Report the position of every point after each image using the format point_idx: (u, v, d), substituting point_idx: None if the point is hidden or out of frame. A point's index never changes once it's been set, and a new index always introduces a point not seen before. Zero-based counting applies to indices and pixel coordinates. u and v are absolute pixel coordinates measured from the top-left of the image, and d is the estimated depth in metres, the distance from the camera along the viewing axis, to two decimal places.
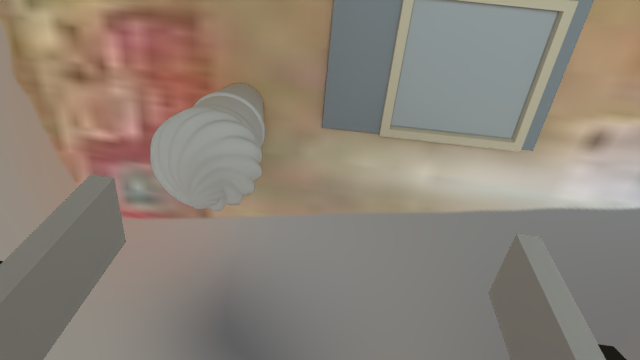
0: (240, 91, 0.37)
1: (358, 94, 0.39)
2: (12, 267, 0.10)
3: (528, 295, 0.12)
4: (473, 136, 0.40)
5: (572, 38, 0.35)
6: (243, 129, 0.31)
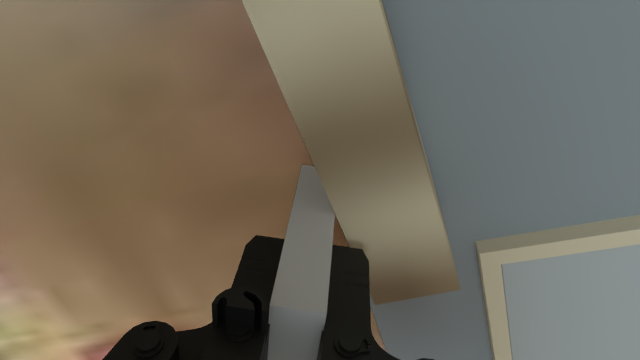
0: None
1: None
2: (296, 239, 0.12)
3: None
4: None
5: None
6: None
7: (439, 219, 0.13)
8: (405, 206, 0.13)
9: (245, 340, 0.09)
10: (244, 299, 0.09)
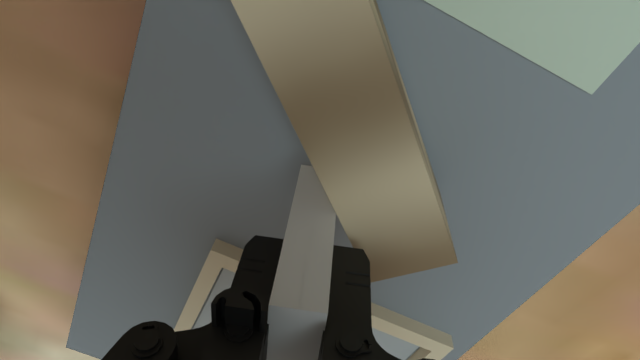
0: None
1: (126, 331, 0.25)
2: (295, 239, 0.12)
3: None
4: None
5: None
6: None
7: (430, 187, 0.12)
8: (394, 175, 0.12)
9: (244, 340, 0.09)
10: (243, 299, 0.09)
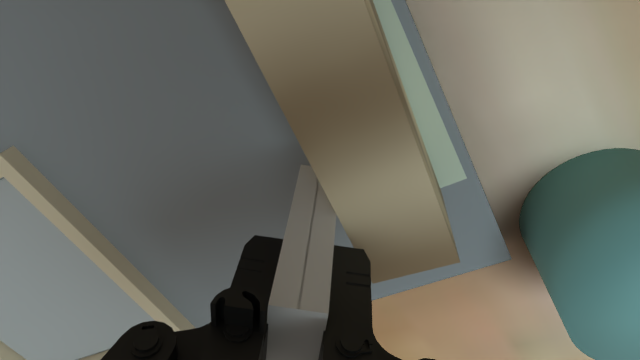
0: None
1: None
2: (294, 239, 0.12)
3: None
4: None
5: None
6: None
7: (431, 187, 0.12)
8: (394, 175, 0.12)
9: (243, 340, 0.09)
10: (242, 299, 0.09)
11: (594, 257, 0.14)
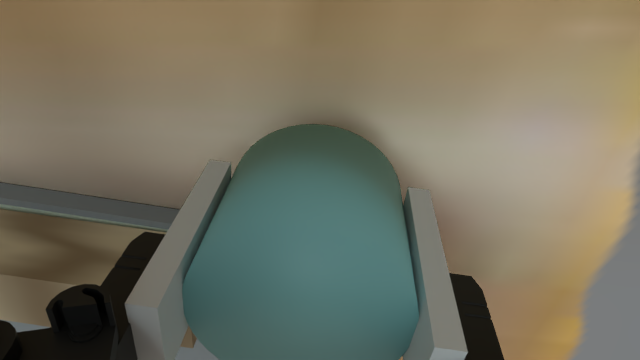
0: None
1: None
2: (177, 235, 0.12)
3: (408, 237, 0.14)
4: None
5: None
6: None
7: None
8: None
9: (93, 337, 0.09)
10: (83, 296, 0.09)
11: None
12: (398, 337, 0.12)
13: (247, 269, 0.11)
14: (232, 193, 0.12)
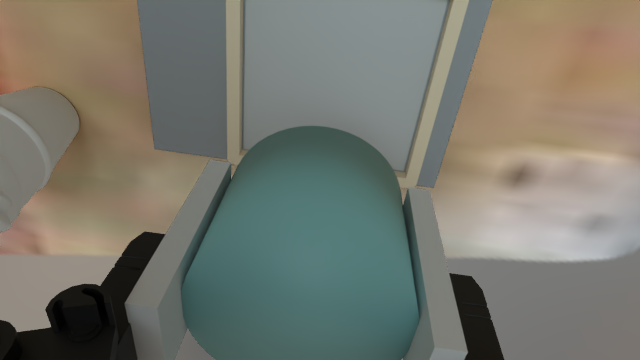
0: (19, 99, 0.27)
1: (194, 106, 0.28)
2: (177, 236, 0.12)
3: (409, 237, 0.14)
4: None
5: (472, 38, 0.24)
6: None
7: None
8: None
9: (93, 337, 0.09)
10: (83, 296, 0.09)
11: None
12: (398, 340, 0.12)
13: (246, 272, 0.11)
14: (231, 195, 0.12)
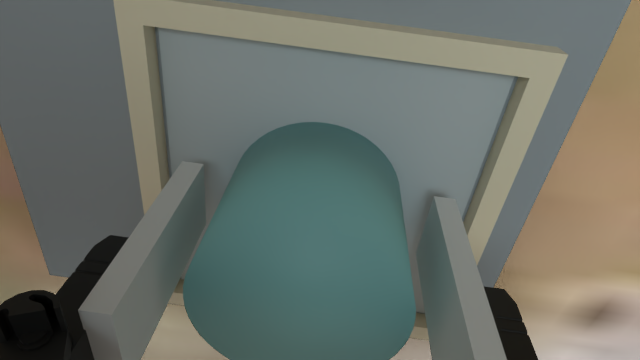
0: None
1: (100, 222, 0.18)
2: (140, 239, 0.11)
3: (437, 248, 0.13)
4: None
5: (552, 136, 0.14)
6: None
7: None
8: None
9: (43, 344, 0.09)
10: (30, 303, 0.09)
11: None
12: (395, 332, 0.12)
13: (247, 265, 0.11)
14: (233, 190, 0.13)
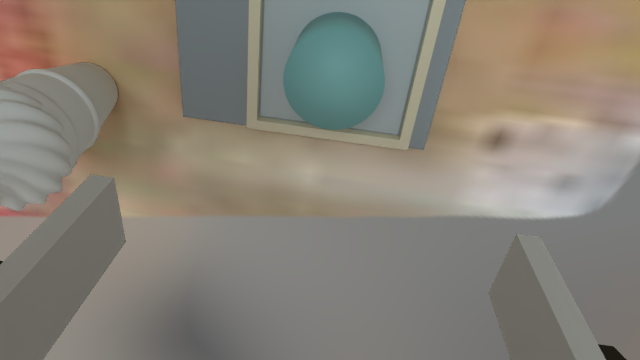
0: (72, 70, 0.31)
1: (219, 78, 0.33)
2: (12, 267, 0.10)
3: (528, 295, 0.12)
4: (354, 131, 0.34)
5: (454, 17, 0.29)
6: (32, 112, 0.25)
7: None
8: None
9: None
10: None
11: None
12: (376, 93, 0.27)
13: (313, 56, 0.26)
14: (302, 35, 0.28)
